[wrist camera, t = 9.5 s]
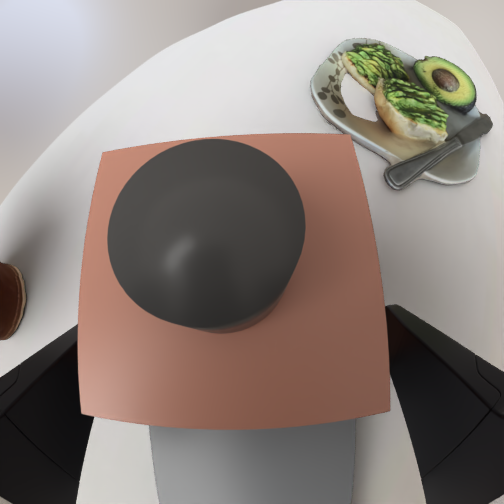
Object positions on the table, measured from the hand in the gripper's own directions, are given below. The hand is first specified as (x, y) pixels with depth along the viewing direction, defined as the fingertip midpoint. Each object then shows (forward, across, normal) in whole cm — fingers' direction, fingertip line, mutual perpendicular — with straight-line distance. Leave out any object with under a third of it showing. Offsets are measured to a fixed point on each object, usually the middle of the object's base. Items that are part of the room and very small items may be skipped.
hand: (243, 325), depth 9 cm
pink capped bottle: (+6, 0, +5) cm, 8 cm away
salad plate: (+19, -15, -7) cm, 26 cm away
